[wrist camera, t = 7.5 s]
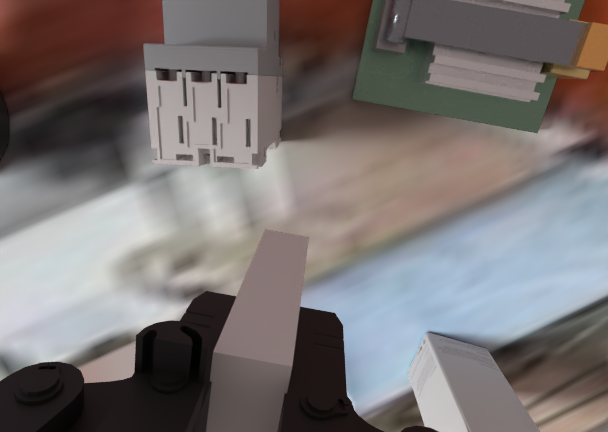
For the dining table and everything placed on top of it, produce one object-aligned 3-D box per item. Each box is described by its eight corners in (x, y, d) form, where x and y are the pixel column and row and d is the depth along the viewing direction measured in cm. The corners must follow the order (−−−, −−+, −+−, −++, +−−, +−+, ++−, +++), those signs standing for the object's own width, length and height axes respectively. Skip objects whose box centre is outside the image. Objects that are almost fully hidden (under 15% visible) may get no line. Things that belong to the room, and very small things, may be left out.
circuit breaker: (284, -12, 39) (258, -64, 24) (281, 141, 43) (257, 172, 29) (205, -14, 39) (134, -67, 25) (210, 138, 43) (152, 167, 29)
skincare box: (406, 370, 51) (436, 488, 36) (426, 327, 49) (467, 433, 34) (469, 388, 52) (525, 513, 37) (492, 346, 49) (561, 460, 35)
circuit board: (351, 98, 41) (356, 102, 34) (384, -62, 37) (396, -94, 30) (527, 130, 41) (567, 140, 34) (582, -26, 37) (639, -50, 30)
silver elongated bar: (383, 41, 33) (384, 39, 32) (395, -13, 32) (397, -19, 30) (587, 78, 32) (601, 77, 31) (608, 23, 31) (624, 19, 29)
